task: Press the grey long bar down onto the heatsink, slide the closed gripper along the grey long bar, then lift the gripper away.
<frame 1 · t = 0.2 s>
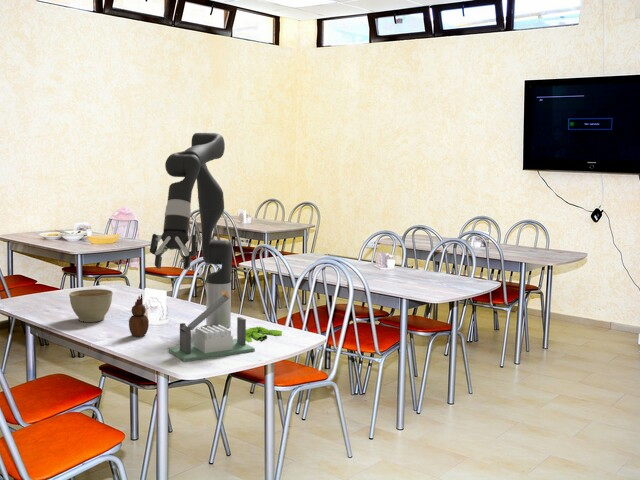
hand: (171, 268, 212), 31 cm above the table, tool tilted 20°, fingers open, 8 cm apart
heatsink: (210, 351, 237), on the table
planter bowl: (91, 320, 277), on the table
wooden figurine: (138, 336, 255), on the table
grey long bar: (205, 311, 234), point 14 cm above the table, hinge at 35.0°
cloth: (261, 338, 259), on the table
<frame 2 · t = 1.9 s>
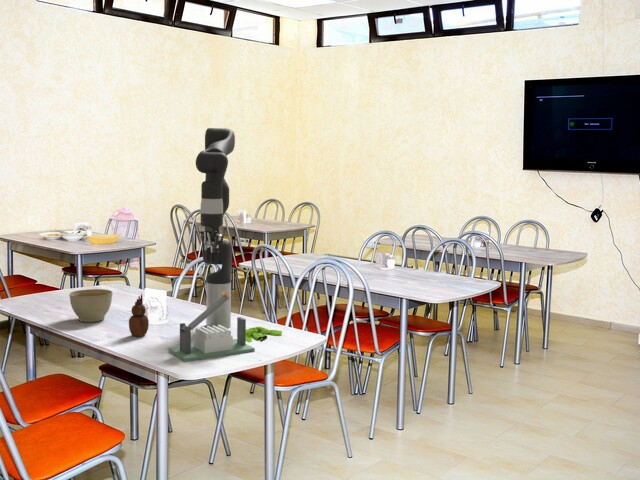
hand: (211, 262, 240), 29 cm above the table, tool pointing down, fingers open, 3 cm apart
nothing on the table moved.
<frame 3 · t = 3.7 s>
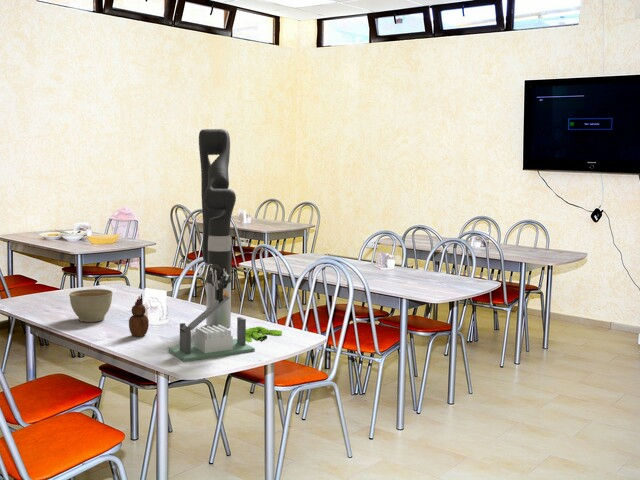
hand: (219, 300, 237), 17 cm above the table, tool pointing down, fingers closed
grey long bar: (205, 311, 234), point 14 cm above the table, hinge at 34.9°, touching gripper
everything else where it was.
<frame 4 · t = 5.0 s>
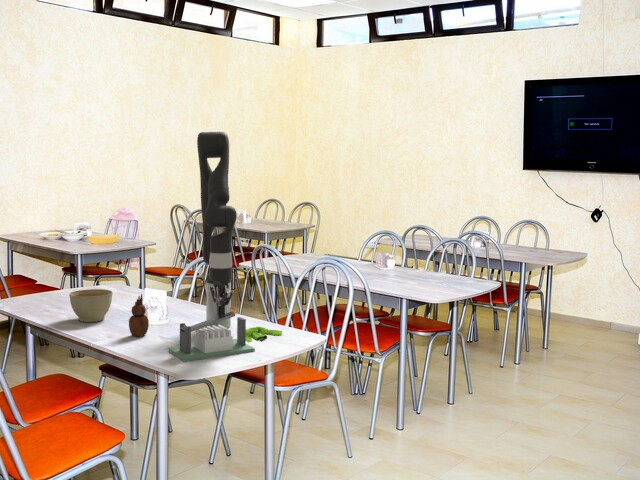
hand: (221, 316, 237), 11 cm above the table, tool pointing down, fingers closed
grey long bar: (208, 320, 235), point 11 cm above the table, hinge at 12.8°, touching gripper
everything else where it was.
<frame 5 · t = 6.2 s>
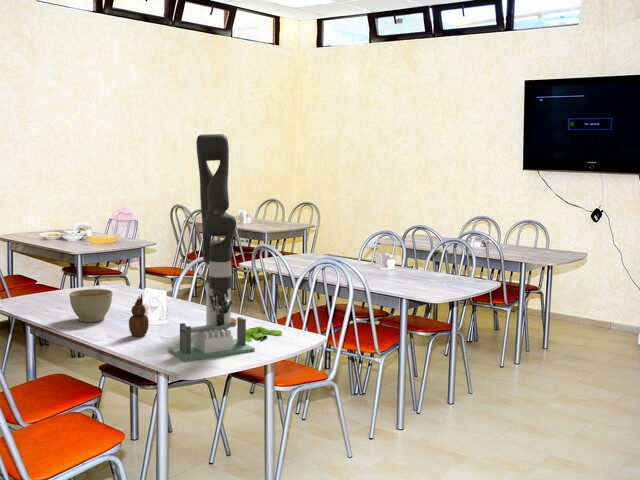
hand: (220, 325, 238), 9 cm above the table, tool pointing down, fingers closed
grey long bar: (209, 325, 236), point 9 cm above the table, hinge at 0.9°, touching gripper
everything else where it was.
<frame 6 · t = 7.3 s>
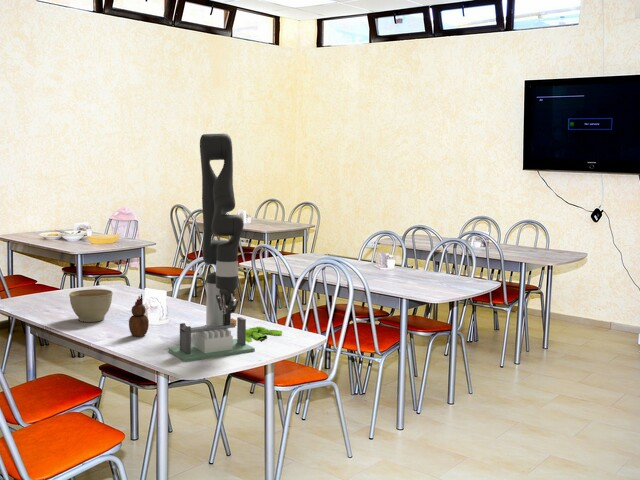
hand: (226, 324, 239), 9 cm above the table, tool pointing down, fingers closed
grey long bar: (209, 325, 236), point 9 cm above the table, hinge at 0.0°, touching gripper, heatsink
everything else where it was.
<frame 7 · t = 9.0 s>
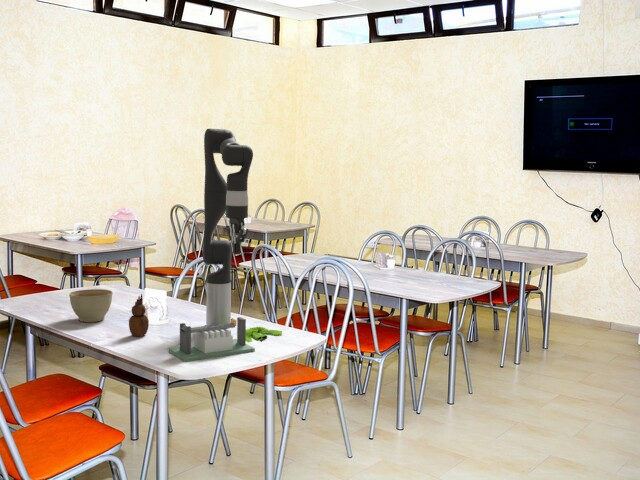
hand: (236, 253, 244), 32 cm above the table, tool pointing down, fingers closed
grey long bar: (209, 325, 236), point 9 cm above the table, hinge at 0.0°, touching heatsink
everything else where it was.
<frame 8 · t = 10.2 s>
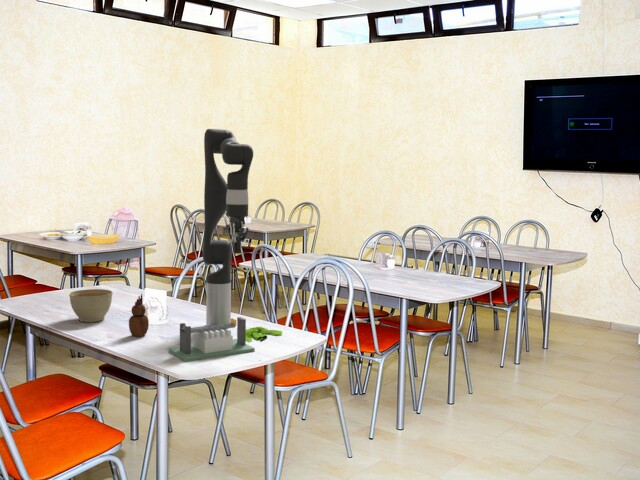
hand: (236, 252, 244), 32 cm above the table, tool pointing down, fingers closed
nothing on the table moved.
at the end: grey long bar at +0° (first picture: +35°); the gripper is holding nothing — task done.
